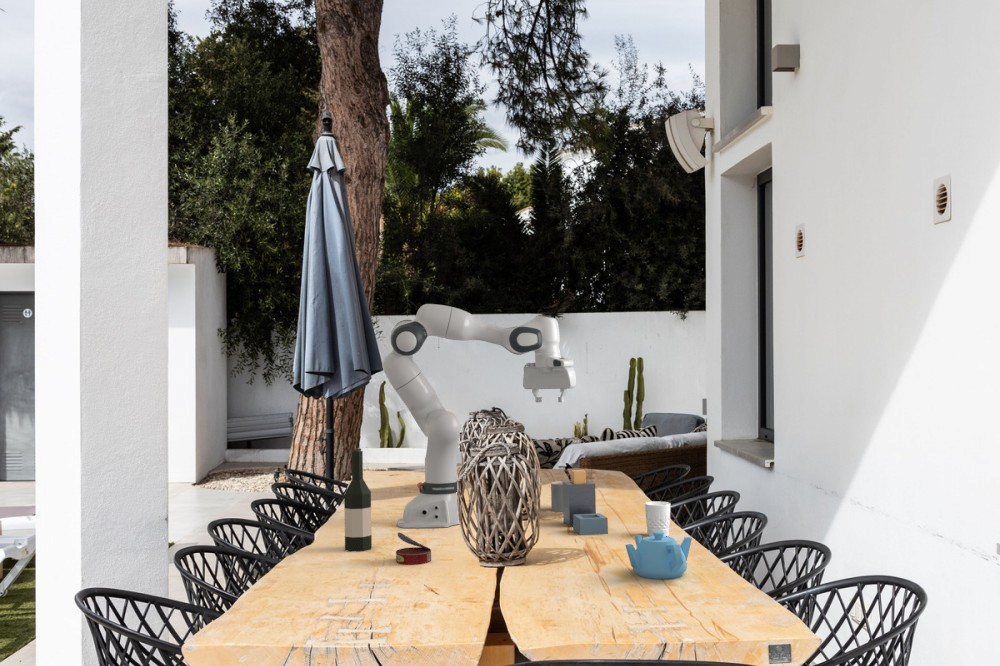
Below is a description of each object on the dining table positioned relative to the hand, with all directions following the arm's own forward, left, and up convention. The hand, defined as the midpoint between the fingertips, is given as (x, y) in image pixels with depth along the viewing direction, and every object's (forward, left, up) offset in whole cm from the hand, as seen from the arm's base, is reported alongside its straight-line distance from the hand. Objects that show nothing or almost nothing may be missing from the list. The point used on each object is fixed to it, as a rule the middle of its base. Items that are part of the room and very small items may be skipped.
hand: (549, 402), depth 319 cm
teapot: (+10, -82, -41) cm, 92 cm away
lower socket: (+8, -22, -41) cm, 47 cm away
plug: (+8, -8, -30) cm, 32 cm away
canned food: (-51, -51, -41) cm, 83 cm away
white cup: (+27, -33, -41) cm, 59 cm away
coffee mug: (+12, +22, -41) cm, 48 cm away
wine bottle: (-66, -30, -41) cm, 83 cm away
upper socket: (+8, -8, -41) cm, 42 cm away
